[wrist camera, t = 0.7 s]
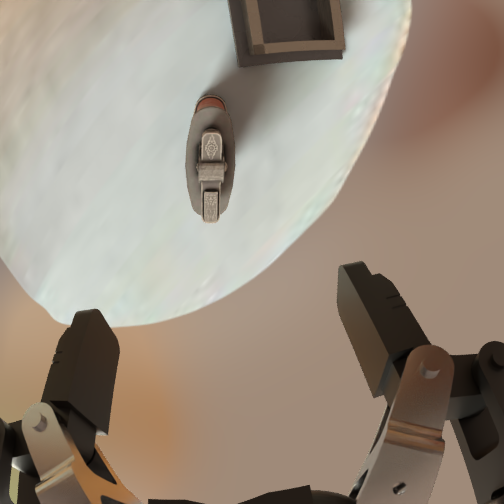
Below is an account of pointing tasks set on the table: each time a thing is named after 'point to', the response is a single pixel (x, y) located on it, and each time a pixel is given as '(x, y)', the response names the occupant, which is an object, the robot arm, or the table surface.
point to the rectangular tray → (286, 30)
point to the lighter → (210, 158)
